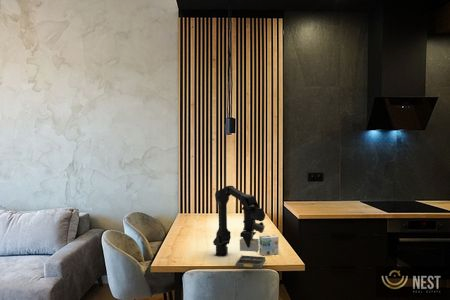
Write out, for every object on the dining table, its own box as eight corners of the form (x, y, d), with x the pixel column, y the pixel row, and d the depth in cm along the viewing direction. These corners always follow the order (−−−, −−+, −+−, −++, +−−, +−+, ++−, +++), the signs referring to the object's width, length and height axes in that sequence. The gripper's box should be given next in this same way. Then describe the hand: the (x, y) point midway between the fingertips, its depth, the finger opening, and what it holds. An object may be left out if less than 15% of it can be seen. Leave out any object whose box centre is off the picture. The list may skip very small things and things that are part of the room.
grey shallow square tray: (235, 266, 201) (235, 263, 201) (241, 258, 215) (241, 255, 215) (260, 268, 197) (260, 265, 197) (265, 260, 212) (265, 256, 212)
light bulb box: (262, 255, 221) (262, 237, 221) (259, 252, 228) (258, 235, 228) (279, 254, 224) (278, 236, 224) (275, 251, 230) (274, 234, 230)
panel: (239, 250, 202) (239, 239, 202) (241, 248, 206) (241, 238, 206) (257, 251, 200) (257, 240, 200) (258, 249, 204) (258, 238, 204)
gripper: (260, 222, 192) (260, 252, 192) (266, 216, 210) (266, 243, 210) (239, 221, 195) (240, 250, 195) (247, 215, 213) (247, 242, 213)
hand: (249, 246), depth 203 cm, fingers closed on panel, 4 cm apart
